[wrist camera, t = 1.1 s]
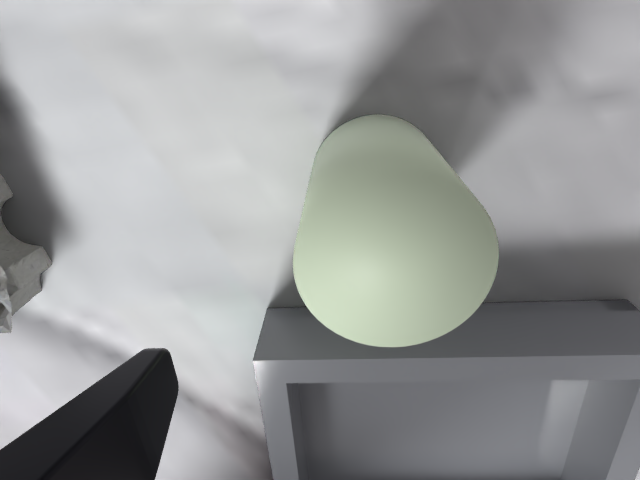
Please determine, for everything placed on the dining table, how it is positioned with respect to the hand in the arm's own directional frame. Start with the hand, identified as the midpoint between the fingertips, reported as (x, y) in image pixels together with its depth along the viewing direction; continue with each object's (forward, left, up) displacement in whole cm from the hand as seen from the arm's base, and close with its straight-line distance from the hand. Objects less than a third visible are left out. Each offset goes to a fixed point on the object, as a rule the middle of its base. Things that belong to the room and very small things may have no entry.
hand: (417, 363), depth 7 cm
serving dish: (+3, -13, -10) cm, 17 cm away
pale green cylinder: (0, 0, -10) cm, 10 cm away
